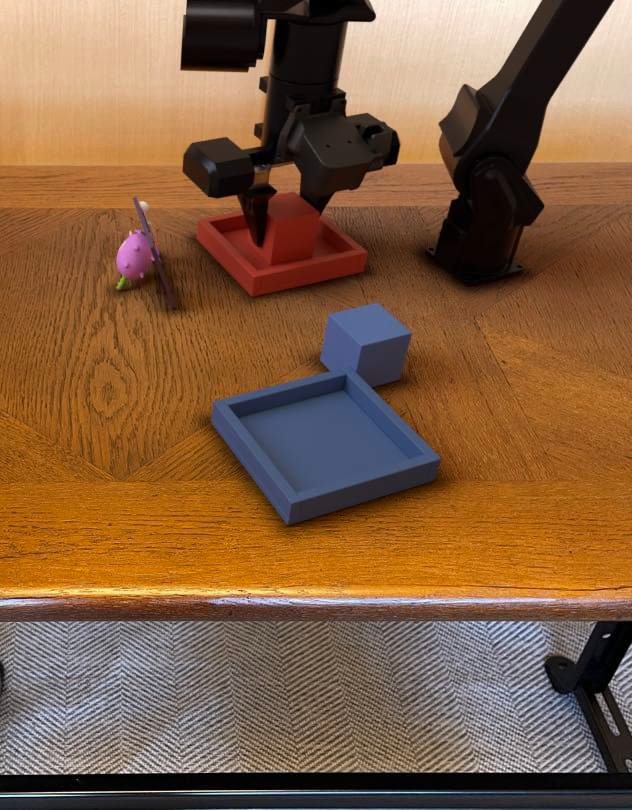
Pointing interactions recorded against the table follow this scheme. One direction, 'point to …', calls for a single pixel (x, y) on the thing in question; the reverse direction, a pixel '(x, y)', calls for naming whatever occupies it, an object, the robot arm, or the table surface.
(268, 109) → the robot arm
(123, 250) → the pink spiky toy
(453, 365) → the table surface
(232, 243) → the red tray
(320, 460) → the blue tray
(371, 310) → the blue block
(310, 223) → the red block
